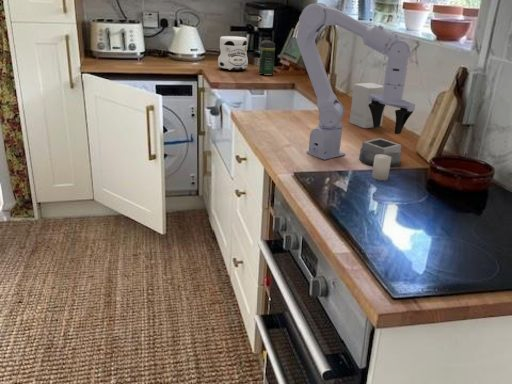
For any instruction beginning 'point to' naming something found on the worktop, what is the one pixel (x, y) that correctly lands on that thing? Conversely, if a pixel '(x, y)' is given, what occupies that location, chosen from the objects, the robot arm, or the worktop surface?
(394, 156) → the square tube on disc
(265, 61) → the coffee jar
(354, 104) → the supplement box
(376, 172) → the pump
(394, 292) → the worktop surface
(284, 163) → the worktop surface
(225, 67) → the milk container
